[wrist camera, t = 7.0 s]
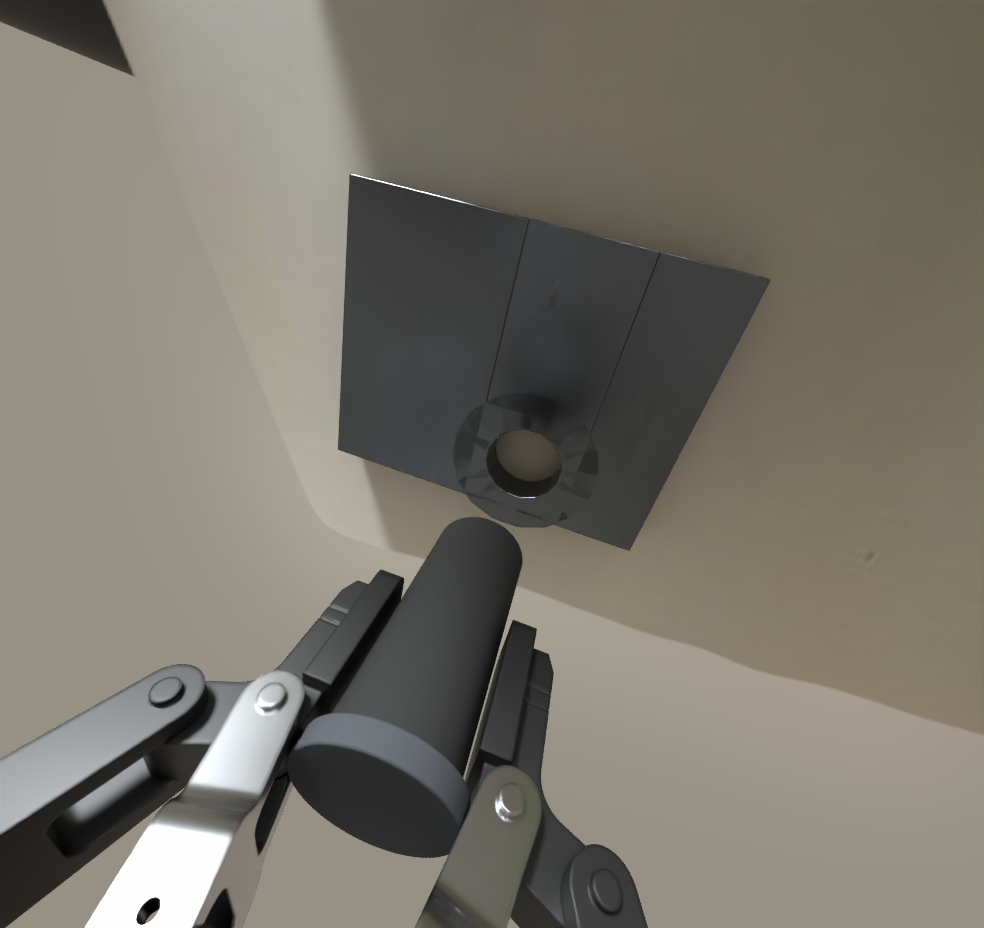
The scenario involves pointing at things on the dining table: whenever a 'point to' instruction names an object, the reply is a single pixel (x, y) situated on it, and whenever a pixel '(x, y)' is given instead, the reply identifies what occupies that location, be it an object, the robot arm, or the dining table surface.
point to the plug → (416, 701)
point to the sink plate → (527, 355)
